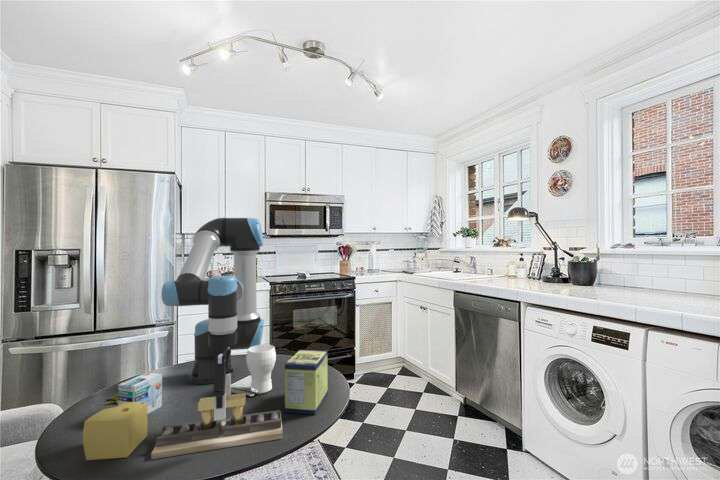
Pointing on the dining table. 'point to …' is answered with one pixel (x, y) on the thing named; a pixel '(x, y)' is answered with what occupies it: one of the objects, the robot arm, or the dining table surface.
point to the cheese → (115, 431)
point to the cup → (261, 366)
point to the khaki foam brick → (231, 401)
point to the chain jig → (217, 434)
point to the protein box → (306, 381)
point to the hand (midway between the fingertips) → (223, 407)
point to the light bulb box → (142, 390)
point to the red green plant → (113, 400)
